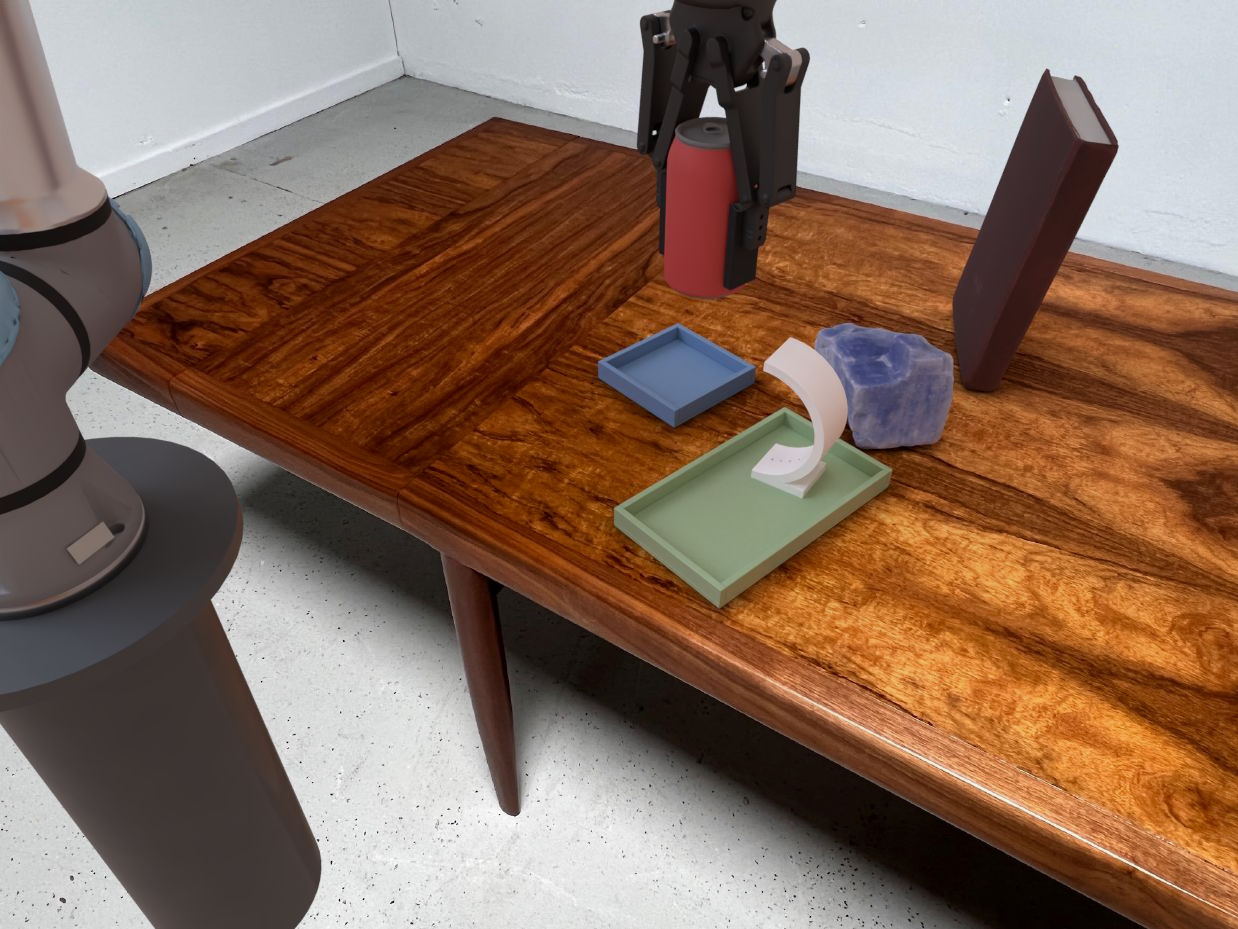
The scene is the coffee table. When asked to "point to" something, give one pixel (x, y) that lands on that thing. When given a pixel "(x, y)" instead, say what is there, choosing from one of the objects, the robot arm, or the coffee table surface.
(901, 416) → the mineral
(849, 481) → the green tray
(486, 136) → the coffee table surface
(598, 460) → the coffee table surface
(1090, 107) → the book
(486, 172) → the coffee table surface
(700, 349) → the blue tray
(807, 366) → the headphone stand
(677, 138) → the beer can
